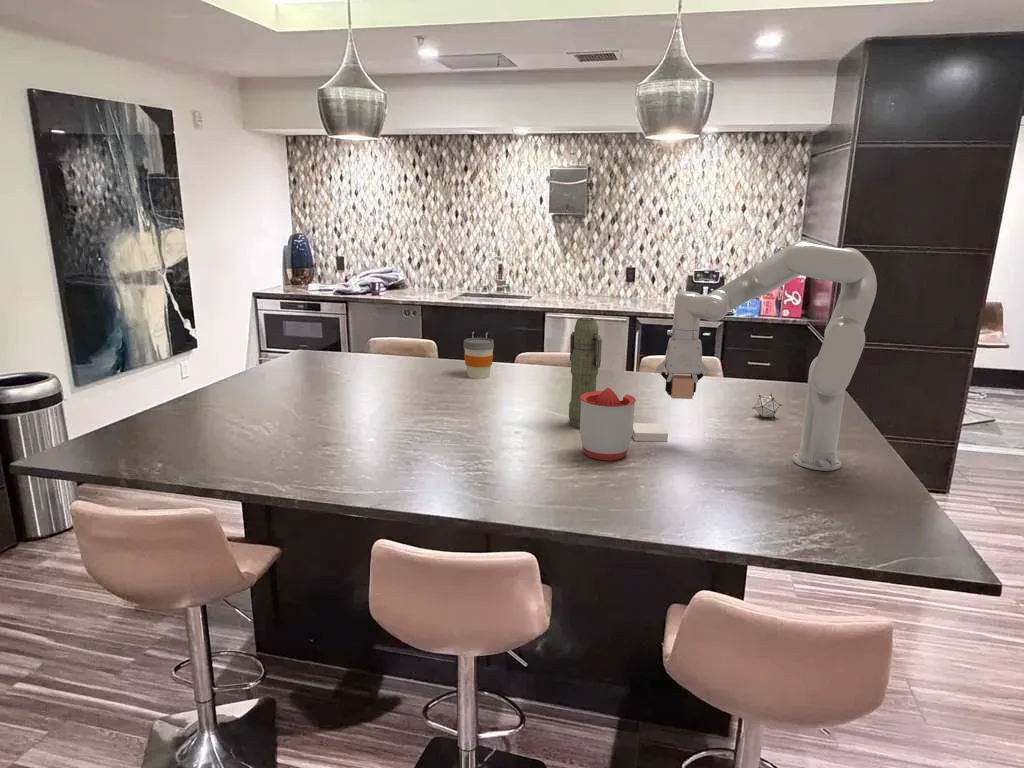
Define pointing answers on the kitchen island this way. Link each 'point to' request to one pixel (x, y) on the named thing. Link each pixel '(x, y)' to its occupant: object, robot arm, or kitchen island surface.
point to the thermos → (583, 364)
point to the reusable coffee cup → (478, 357)
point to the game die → (766, 406)
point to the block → (649, 432)
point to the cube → (682, 386)
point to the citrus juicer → (606, 424)
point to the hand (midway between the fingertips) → (680, 393)
